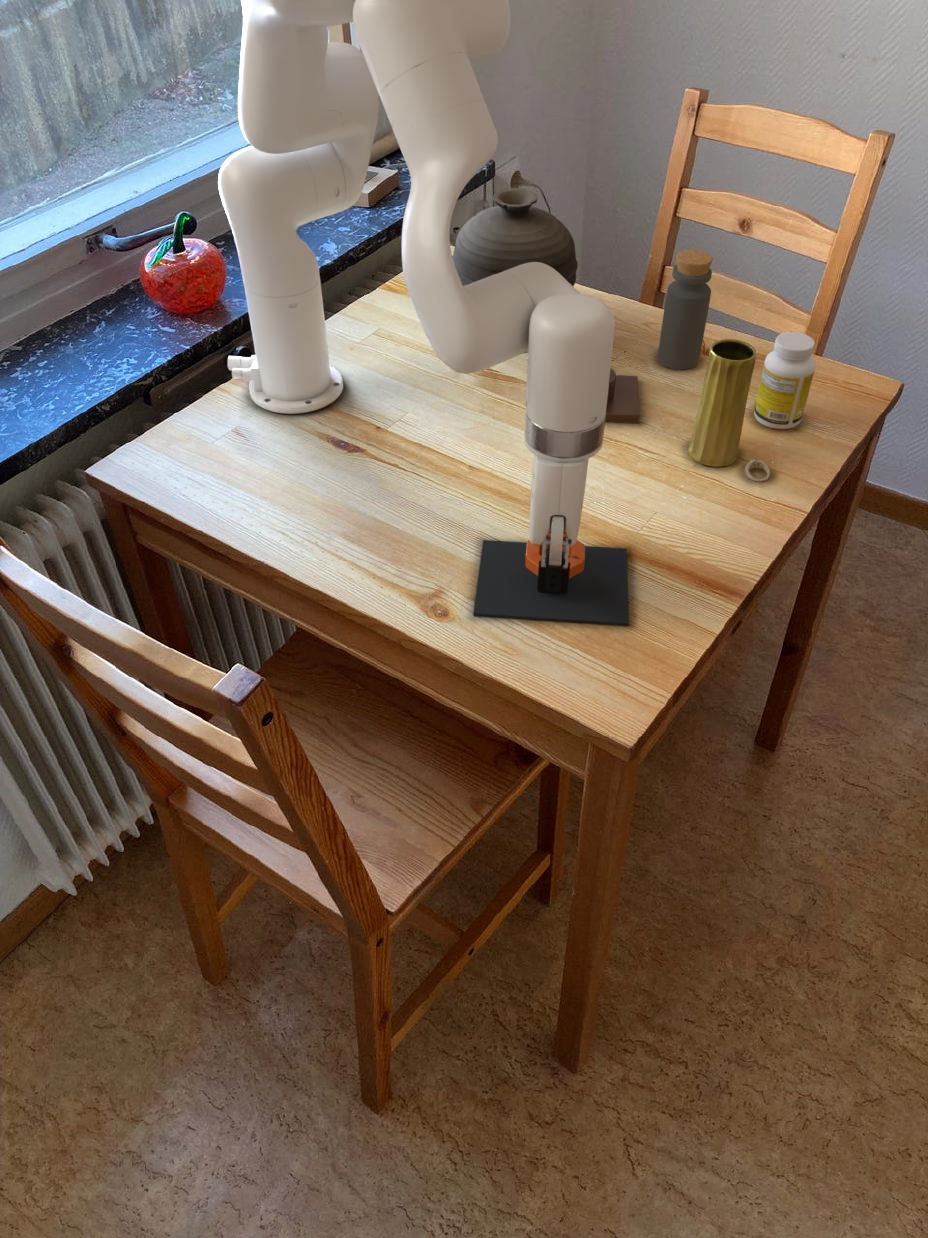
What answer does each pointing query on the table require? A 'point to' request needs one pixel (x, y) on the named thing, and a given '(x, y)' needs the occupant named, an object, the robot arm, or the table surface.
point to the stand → (622, 399)
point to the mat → (516, 596)
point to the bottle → (686, 311)
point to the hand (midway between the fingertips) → (553, 569)
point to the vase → (722, 403)
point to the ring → (758, 465)
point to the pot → (513, 239)
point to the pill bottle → (785, 381)
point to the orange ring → (574, 551)
